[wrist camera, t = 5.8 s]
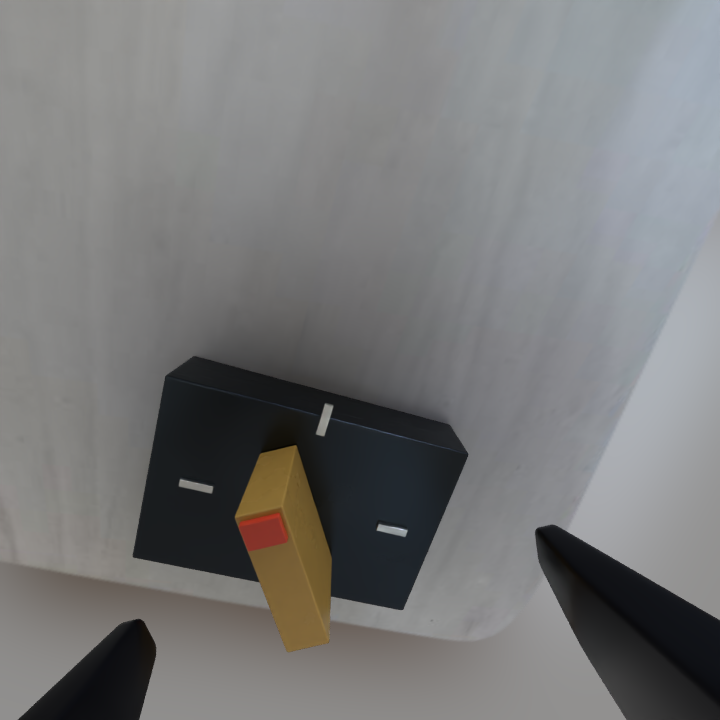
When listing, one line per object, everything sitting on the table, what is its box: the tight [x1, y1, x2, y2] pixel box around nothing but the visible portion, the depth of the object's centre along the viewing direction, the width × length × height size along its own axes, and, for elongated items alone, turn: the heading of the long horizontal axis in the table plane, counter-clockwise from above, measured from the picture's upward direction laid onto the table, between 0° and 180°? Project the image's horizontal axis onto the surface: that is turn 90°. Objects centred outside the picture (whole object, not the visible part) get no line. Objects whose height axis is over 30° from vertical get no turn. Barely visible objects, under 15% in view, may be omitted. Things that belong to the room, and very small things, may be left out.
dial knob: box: [235, 445, 332, 652], centre depth 14 cm, size 6×2×4 cm, turn 13°
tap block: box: [133, 356, 468, 610], centre depth 18 cm, size 13×10×3 cm
